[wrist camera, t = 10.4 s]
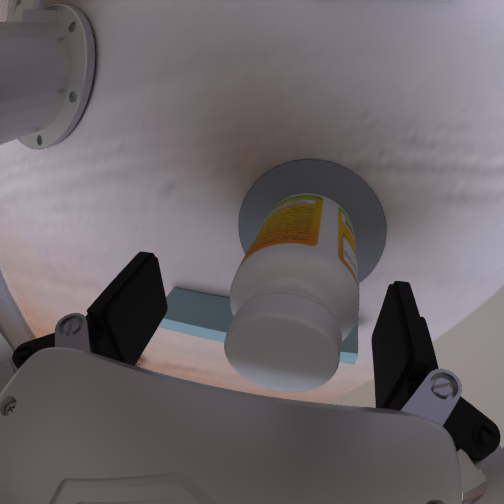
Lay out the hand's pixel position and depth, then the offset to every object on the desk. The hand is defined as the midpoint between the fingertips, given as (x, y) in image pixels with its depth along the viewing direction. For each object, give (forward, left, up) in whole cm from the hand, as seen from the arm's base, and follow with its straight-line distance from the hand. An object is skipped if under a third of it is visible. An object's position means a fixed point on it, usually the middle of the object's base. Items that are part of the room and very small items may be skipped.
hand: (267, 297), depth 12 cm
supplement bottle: (+1, +1, -7) cm, 7 cm away
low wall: (+7, -2, -8) cm, 11 cm away
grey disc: (+1, +1, -8) cm, 8 cm away
